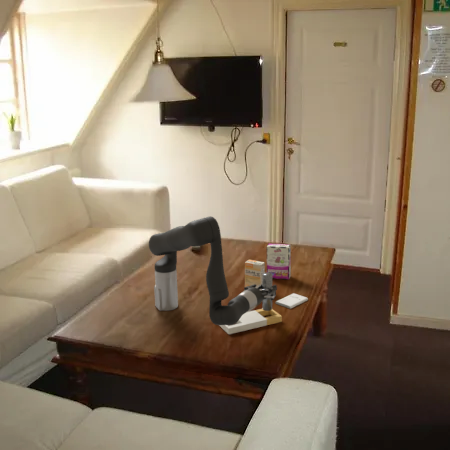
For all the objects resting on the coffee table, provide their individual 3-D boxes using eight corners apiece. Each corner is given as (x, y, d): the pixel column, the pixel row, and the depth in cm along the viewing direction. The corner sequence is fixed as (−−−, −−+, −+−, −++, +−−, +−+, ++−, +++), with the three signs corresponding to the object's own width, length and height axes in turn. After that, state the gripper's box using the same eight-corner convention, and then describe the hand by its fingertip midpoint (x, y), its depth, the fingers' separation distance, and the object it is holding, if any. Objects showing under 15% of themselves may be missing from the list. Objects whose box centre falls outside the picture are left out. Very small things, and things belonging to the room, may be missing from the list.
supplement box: (244, 288, 269) (244, 262, 266) (248, 285, 273) (248, 259, 270) (260, 291, 266) (260, 264, 262) (264, 288, 270) (264, 261, 266)
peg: (265, 311, 234) (265, 276, 230) (260, 307, 238) (260, 273, 233) (274, 309, 236) (274, 274, 232) (269, 306, 239) (269, 271, 235)
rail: (228, 334, 226) (228, 328, 225) (217, 324, 234) (217, 318, 234) (281, 321, 235) (281, 316, 235) (269, 312, 244) (269, 306, 243)
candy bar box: (290, 276, 284) (291, 244, 279) (289, 279, 279) (289, 247, 274) (268, 274, 286) (268, 242, 282) (266, 278, 282) (266, 246, 277)
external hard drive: (275, 304, 253) (293, 296, 261) (290, 309, 247) (307, 300, 256) (275, 301, 252) (293, 292, 261) (290, 306, 247) (308, 297, 255)
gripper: (264, 294, 218) (286, 280, 232) (232, 287, 226) (255, 274, 239) (264, 313, 220) (286, 298, 234) (233, 305, 228) (256, 290, 241)
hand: (270, 285), depth 236 cm, fingers closed on peg, 4 cm apart
